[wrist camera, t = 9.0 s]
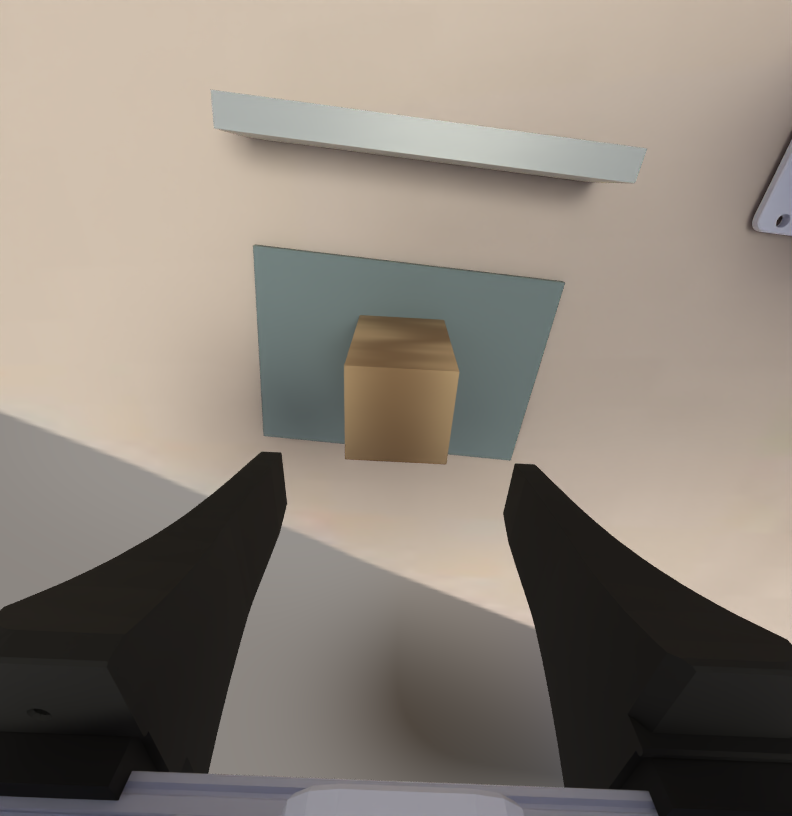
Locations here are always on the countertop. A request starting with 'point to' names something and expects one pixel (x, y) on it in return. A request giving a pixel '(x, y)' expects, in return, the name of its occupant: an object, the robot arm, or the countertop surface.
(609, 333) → the countertop surface
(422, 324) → the oak block
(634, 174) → the low wall
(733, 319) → the countertop surface
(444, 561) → the countertop surface
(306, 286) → the mat
